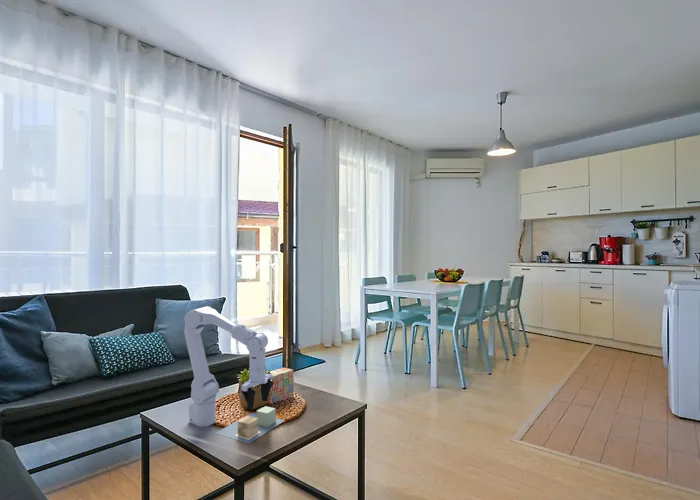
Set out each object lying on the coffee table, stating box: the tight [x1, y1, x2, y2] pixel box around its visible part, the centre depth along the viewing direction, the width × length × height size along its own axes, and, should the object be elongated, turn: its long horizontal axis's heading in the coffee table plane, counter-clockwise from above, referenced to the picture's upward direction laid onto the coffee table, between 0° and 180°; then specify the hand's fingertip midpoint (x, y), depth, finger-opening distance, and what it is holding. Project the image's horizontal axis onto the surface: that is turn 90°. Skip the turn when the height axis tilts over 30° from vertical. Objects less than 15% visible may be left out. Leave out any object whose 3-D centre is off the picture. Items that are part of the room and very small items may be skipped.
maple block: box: [237, 415, 258, 438], centre depth 141 cm, size 5×5×5 cm
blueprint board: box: [214, 412, 286, 444], centre depth 147 cm, size 16×20×1 cm
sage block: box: [256, 405, 277, 427], centre depth 150 cm, size 5×5×5 cm
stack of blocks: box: [269, 367, 295, 405], centre depth 172 cm, size 21×6×12 cm, turn 141°
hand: (257, 404), depth 146 cm, fingers open, 7 cm apart
